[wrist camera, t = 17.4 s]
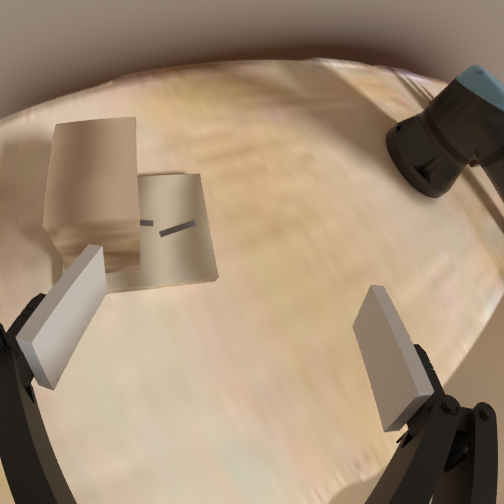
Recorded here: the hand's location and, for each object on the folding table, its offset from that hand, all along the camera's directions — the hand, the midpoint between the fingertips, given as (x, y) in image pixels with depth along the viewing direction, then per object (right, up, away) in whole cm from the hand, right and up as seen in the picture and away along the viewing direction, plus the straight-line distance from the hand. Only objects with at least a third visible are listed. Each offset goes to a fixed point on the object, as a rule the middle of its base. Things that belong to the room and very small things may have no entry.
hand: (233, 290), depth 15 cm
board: (-10, +3, +14) cm, 17 cm away
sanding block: (-12, +4, +11) cm, 17 cm away
